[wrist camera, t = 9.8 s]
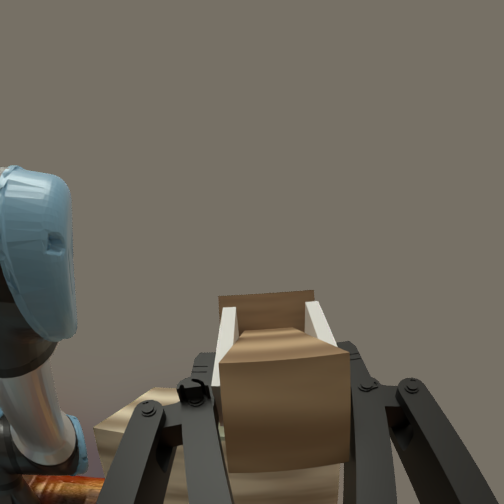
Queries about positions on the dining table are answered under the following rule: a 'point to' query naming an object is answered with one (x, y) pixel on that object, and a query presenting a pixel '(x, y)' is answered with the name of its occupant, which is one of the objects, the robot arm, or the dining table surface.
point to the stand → (242, 484)
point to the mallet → (282, 388)
